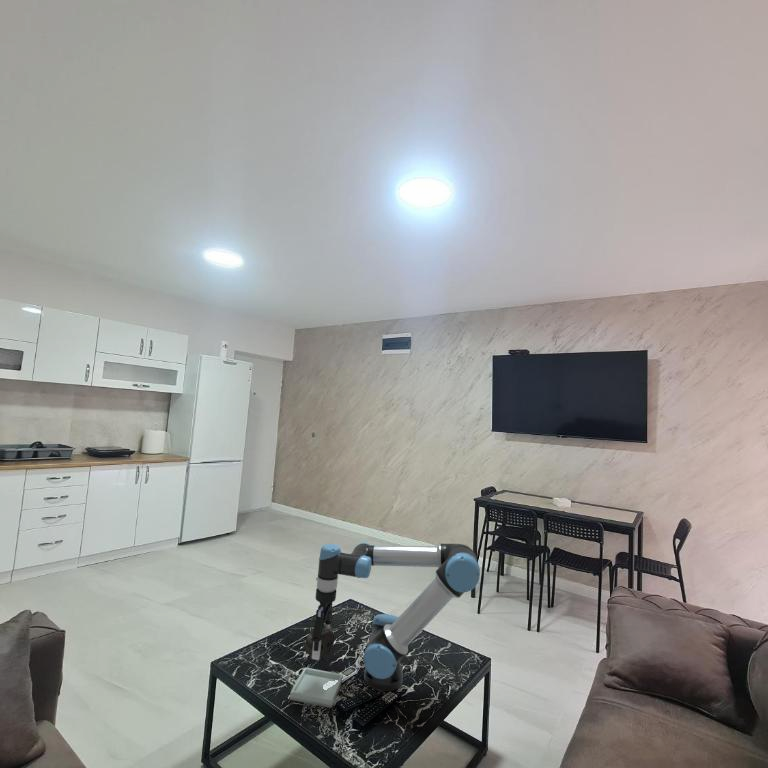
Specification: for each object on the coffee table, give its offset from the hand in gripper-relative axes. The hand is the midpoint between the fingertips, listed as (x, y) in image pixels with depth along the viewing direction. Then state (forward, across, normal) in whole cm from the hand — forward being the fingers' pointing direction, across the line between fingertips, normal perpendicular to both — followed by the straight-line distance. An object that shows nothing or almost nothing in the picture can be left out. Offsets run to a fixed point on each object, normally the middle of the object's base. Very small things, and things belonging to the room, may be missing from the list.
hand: (320, 650), depth 153 cm
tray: (+14, 0, 0) cm, 14 cm away
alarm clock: (+4, 0, 0) cm, 4 cm away
